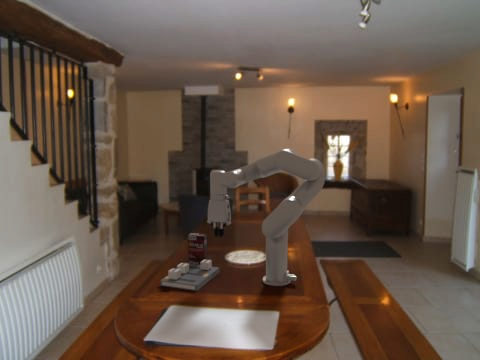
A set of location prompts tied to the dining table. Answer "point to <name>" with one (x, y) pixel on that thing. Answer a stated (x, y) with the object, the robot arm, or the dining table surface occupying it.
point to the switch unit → (191, 278)
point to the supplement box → (196, 248)
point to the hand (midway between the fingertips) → (219, 236)
